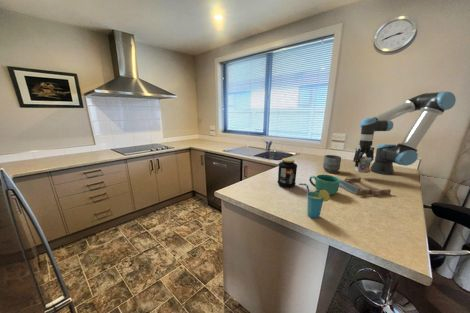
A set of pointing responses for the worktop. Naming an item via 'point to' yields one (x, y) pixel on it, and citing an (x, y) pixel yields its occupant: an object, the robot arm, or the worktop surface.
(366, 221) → the worktop surface
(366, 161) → the mug
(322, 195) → the cup
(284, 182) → the container
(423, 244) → the worktop surface
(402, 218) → the worktop surface
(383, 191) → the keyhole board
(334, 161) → the planter
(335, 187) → the mug
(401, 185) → the worktop surface
